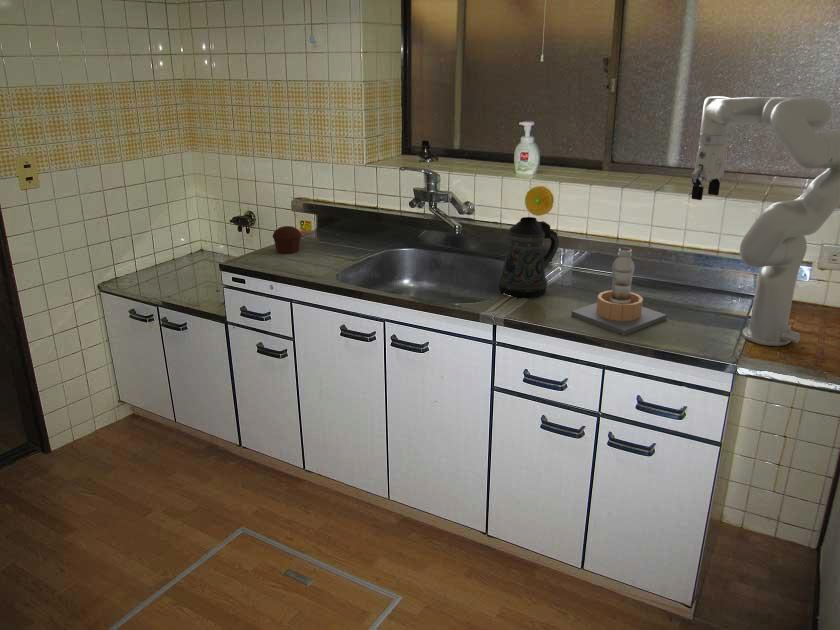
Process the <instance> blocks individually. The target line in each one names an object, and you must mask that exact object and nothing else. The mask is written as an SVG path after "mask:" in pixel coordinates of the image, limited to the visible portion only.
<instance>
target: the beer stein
mask: <svg viewBox="0 0 840 630" xmlns="http://www.w3.org/2000/svg"><path fill="white" fill-rule="evenodd" d="M507 237H508V243H507V244H508V245H507V249H506V254H505V259H504V262H503V263H504V264H503V267H502V269H501V272H500V273H501V274H500V275H499V277H498V281H497V282H498V287H499V292H500V294H502V295H503V293H505V294H507V295H511V296H513V297H516V298H515V299H519V298H526V299H530V298H531V299H535V298H536V299H537V298H540V297H542V296H544V295H545V294H546V293H547V291H546V290H547V287H548V281H547V278H546V272H545V268H546V267H547V266H548V265H549V264H550V262H551V261H552V260H553V258H554V257H555V255H556V254H557V251H558V249H559V244H560V243H559V242H560V239H559V237H558V233H557V232H556V231H554V230H552V229H551V225H550V224H549V223H547V222H546V221H544V220H543V221H539V220H537V218H536V217H534V216H533V217H532V216H524V217H521V218H520V220H519V221H518V222H517V223H515V224H514V225H512V226H511V227H510V228H509V229H508V230H507ZM545 239H550V245H549V247H548V250H547V251H546V252H545V254H544V247H543V241H544V240H545ZM513 297H512V298H513Z"/></svg>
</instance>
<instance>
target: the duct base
mask: <svg viewBox="0 0 840 630" xmlns="http://www.w3.org/2000/svg"><path fill="white" fill-rule="evenodd" d="M611 294H612V290H605V291H602V292H599V293H598V295H597V297H596V298H597V301H596V302H594V303H592V304H588V305H586V306H583V307H580V308H576V309H574V310H571V315H572V317H574V318H576V317H577V318H576V319H579V318H580V320H582V321H584V320H585V321H584V322H587V321H588V323H590V322H591V323H590V324H592V323H593V325H595V324H596V325H595V326H598V327H600V326H601V328H603V327H604V328H603V329H606V330H608V329H609V331H611V330H612V332H614V331H615V332H614V333H616V332H618V333H617V334H619V333H621V334H620V335H622V334H624V335H623V336H626V335H625V334H627V335H629V334H631V332H632V333H634V331H635V332H637V331H640V330H642V329H644V328H647V327H649V326H652V325H654V324H655V325H656V324H657V323H660V322H663V321H665V320H667V314H665V313H664V312H659V311H657V310H654V309H650V308H648V307H644V306H643V302H644V297H642V296H641V295H639V294H638V293H635V292H632V291H631V304H618V303H611V302H609V301H610V298H611ZM628 333H629V334H628Z"/></svg>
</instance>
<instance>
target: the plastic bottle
mask: <svg viewBox="0 0 840 630" xmlns="http://www.w3.org/2000/svg"><path fill="white" fill-rule="evenodd" d="M632 251H633V250H632V248H630V247H619V248H618V253H617V256H618V257H617V258H616V259H615V260H614V262H613V263H612V289H611V291H612V294H611V298H610V301H609V302H611V303H618V304H631V292H632V291H631V289H632V281H633V277H634V272H635V268H636V267H635V263H634V260H632V258H631V257H632V255H633V254H632Z"/></svg>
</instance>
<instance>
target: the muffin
mask: <svg viewBox="0 0 840 630" xmlns="http://www.w3.org/2000/svg"><path fill="white" fill-rule="evenodd" d="M301 237H303V236H302V232H301V231H300V230H299V229H298V228H297V227H294V226H290V225H285V226H280V227H278V228H277V229H276V230H275V231H274V232H273V234H272V239H273V241H274V245H275V250H276V253H279V254H282V255H291V254H296V253H298V252H299V251H300V246H301Z"/></svg>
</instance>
